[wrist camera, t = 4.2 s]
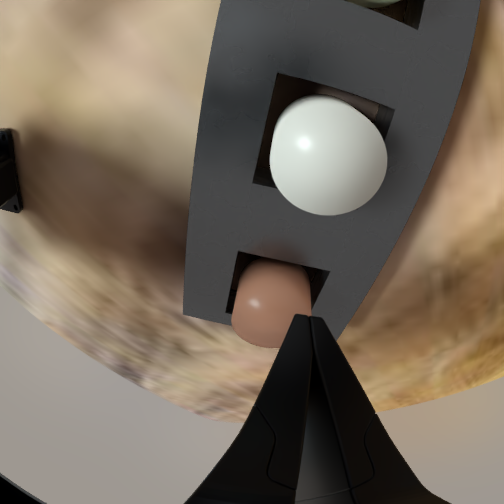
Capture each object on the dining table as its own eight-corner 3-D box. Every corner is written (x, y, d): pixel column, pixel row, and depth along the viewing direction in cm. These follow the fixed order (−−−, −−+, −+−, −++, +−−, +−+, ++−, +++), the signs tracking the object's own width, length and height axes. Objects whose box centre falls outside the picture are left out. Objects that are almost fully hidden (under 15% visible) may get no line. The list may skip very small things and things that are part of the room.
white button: (264, 169, 13) (258, 200, 10) (285, 83, 10) (284, 90, 8) (349, 191, 13) (363, 226, 10) (378, 111, 10) (403, 128, 8)
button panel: (190, 292, 20) (182, 314, 18) (260, -101, 5) (257, -119, 3) (331, 321, 20) (333, 343, 18) (463, -31, 5) (483, -37, 4)
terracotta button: (234, 300, 18) (226, 339, 16) (246, 249, 16) (237, 289, 13) (298, 313, 18) (297, 353, 16) (319, 265, 16) (323, 306, 13)
